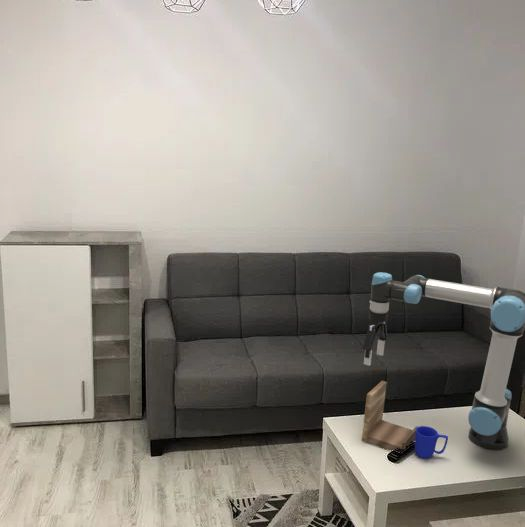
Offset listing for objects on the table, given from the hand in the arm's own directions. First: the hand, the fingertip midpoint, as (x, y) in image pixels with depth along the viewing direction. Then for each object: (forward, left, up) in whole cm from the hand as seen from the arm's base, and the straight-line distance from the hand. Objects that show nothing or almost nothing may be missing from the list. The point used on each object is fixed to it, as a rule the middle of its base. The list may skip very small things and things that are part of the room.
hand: (373, 359), depth 253 cm
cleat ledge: (-14, +11, -27) cm, 32 cm away
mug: (-30, +13, -27) cm, 43 cm away
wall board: (-6, +11, -27) cm, 30 cm away
